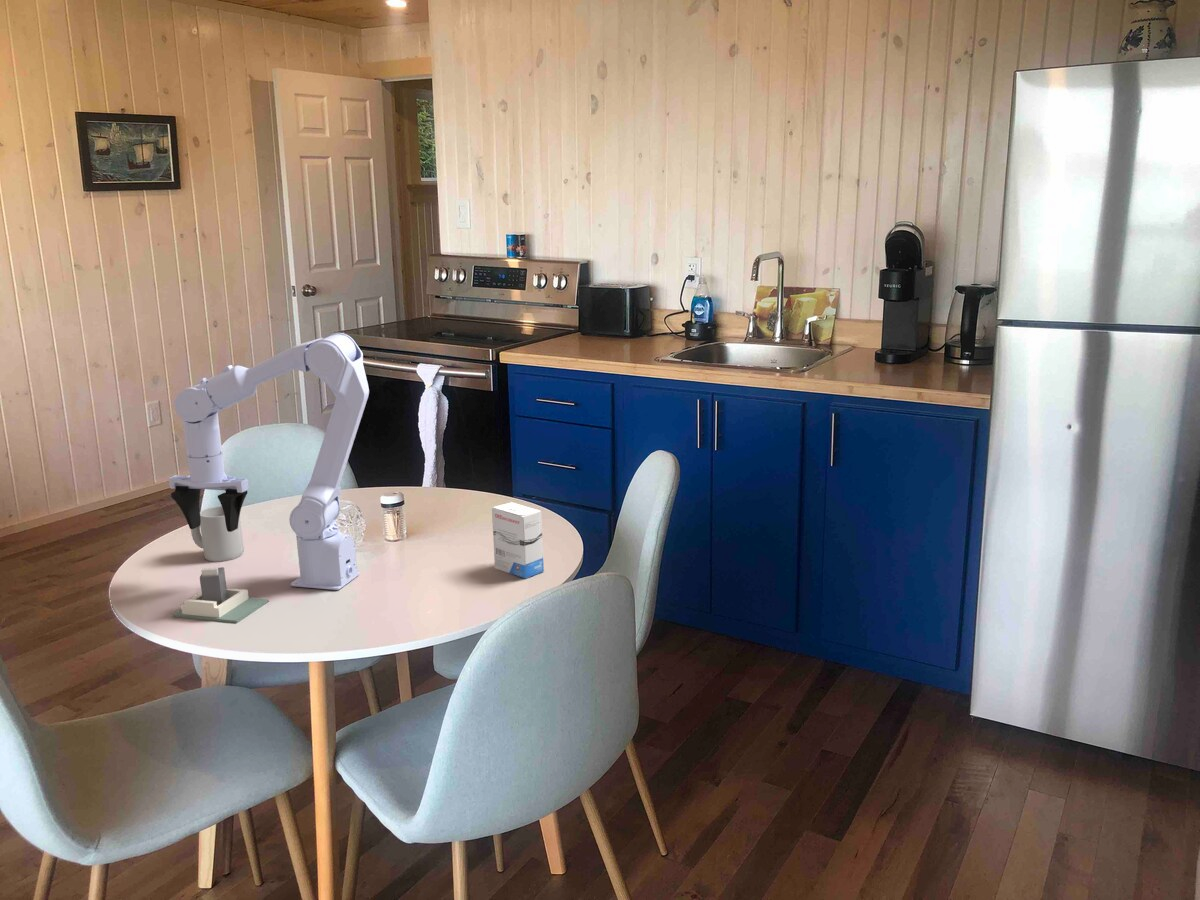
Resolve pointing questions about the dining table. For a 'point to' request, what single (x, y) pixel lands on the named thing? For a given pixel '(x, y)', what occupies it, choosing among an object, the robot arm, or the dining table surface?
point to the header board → (221, 607)
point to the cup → (217, 536)
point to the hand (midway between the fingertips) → (213, 528)
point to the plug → (213, 585)
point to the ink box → (518, 539)
